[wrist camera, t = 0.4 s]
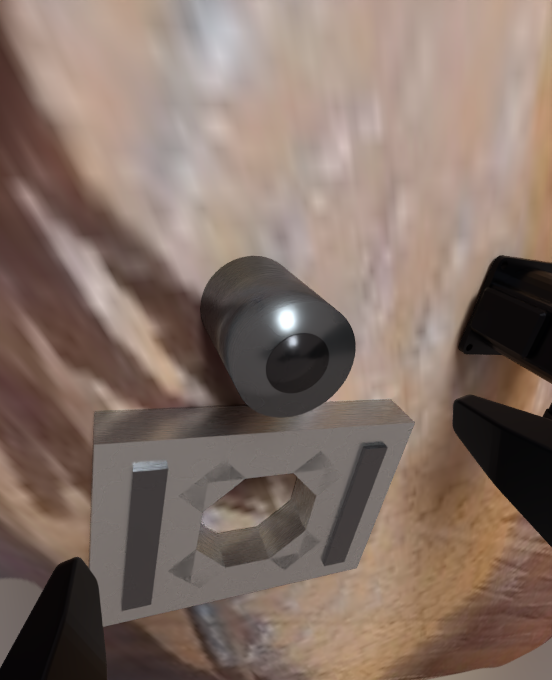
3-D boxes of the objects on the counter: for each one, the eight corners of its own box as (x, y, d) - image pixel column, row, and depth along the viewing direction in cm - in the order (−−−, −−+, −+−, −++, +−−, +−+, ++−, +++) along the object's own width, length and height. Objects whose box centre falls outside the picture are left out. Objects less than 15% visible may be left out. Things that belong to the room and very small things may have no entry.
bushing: (305, 261, 21) (371, 307, 16) (285, 350, 23) (337, 415, 18) (208, 250, 19) (248, 298, 14) (194, 348, 21) (225, 421, 16)
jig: (391, 399, 28) (418, 425, 26) (340, 539, 33) (358, 571, 31) (94, 411, 21) (94, 449, 18) (87, 589, 26) (87, 635, 23)
